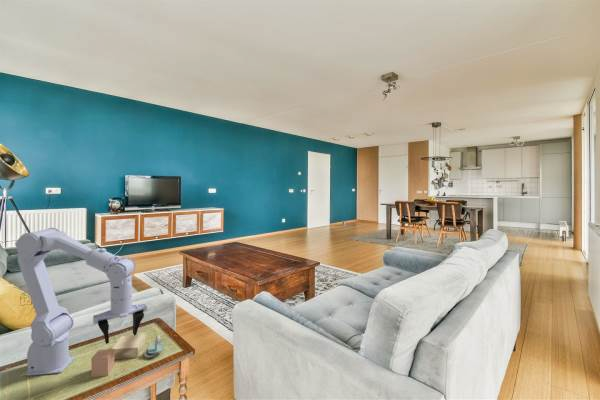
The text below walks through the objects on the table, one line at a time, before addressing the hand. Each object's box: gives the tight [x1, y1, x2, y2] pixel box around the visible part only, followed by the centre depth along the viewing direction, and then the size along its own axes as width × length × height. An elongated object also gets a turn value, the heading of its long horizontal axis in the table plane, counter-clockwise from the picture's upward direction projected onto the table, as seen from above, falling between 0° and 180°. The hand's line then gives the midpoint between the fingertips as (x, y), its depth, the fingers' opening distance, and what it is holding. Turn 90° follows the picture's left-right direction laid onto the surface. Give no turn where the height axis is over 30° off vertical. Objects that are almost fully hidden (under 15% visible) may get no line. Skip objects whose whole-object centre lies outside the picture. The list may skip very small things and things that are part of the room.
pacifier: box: [143, 334, 164, 359], centre depth 100 cm, size 7×6×6 cm
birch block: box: [111, 334, 146, 360], centre depth 100 cm, size 8×8×4 cm
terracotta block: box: [91, 348, 115, 378], centre depth 89 cm, size 4×4×6 cm
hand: (121, 337), depth 92 cm, fingers open, 7 cm apart
